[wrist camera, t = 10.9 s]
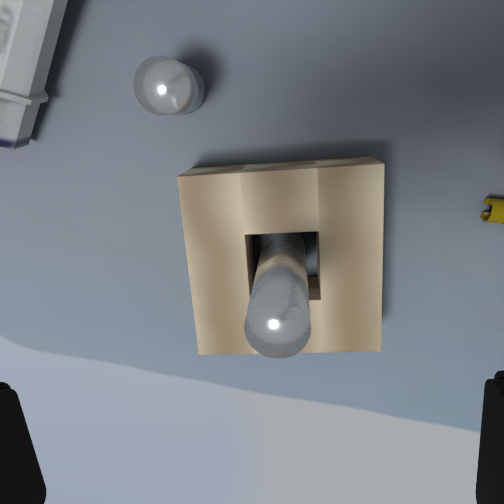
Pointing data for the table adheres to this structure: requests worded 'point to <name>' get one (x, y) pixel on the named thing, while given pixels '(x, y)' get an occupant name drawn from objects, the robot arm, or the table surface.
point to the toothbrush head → (25, 63)
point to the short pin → (168, 86)
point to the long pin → (279, 298)
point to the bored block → (286, 221)
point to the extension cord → (494, 211)
